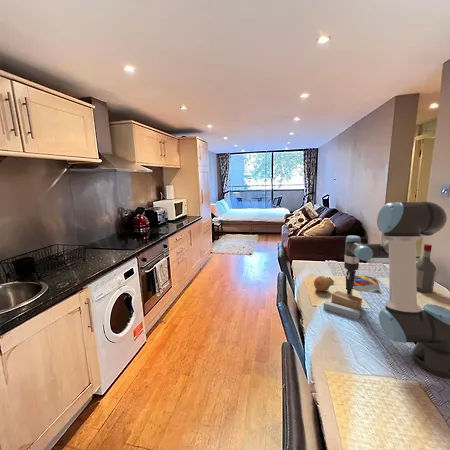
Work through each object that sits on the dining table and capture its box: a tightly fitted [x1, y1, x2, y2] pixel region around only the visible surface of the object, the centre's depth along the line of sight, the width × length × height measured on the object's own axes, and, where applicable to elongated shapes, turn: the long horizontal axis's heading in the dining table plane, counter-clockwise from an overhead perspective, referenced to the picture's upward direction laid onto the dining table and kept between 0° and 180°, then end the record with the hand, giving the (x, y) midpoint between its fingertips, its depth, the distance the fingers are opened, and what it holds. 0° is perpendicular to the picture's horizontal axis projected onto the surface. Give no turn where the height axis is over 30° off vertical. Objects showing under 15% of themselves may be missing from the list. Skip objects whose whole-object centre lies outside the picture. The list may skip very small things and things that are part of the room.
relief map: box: [353, 274, 382, 295], centre depth 170 cm, size 25×15×2 cm, turn 155°
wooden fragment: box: [326, 276, 335, 288], centre depth 173 cm, size 26×11×1 cm, turn 137°
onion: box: [313, 275, 331, 293], centre depth 162 cm, size 10×10×10 cm
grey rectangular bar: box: [323, 300, 361, 320], centre depth 136 cm, size 3×18×4 cm, turn 50°
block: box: [330, 289, 363, 311], centre depth 143 cm, size 7×14×6 cm, turn 37°
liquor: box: [416, 244, 437, 294], centre depth 156 cm, size 9×9×30 cm
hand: (349, 299), depth 147 cm, fingers closed
